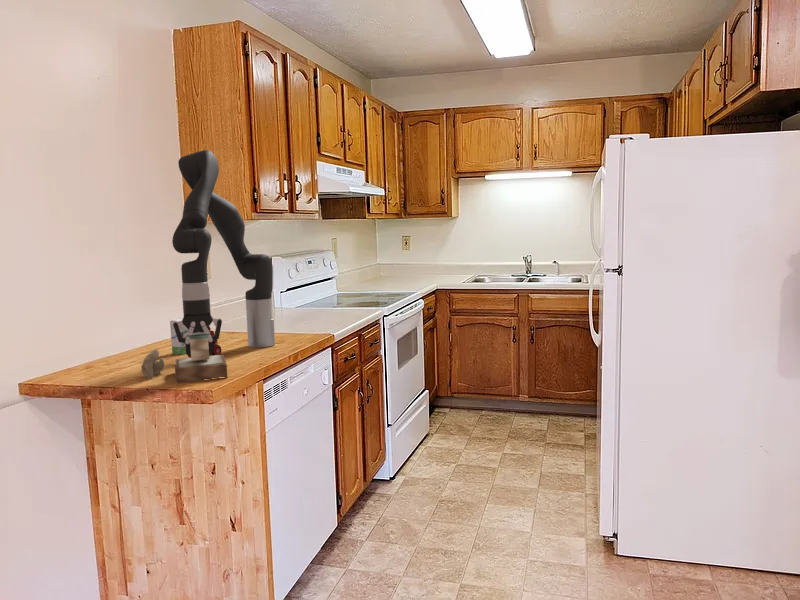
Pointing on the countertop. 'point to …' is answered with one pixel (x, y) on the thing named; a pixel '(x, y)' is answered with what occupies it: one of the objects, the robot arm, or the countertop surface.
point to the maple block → (199, 346)
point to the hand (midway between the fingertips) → (199, 354)
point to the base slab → (200, 369)
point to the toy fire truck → (215, 344)
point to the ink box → (176, 345)
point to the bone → (152, 365)
